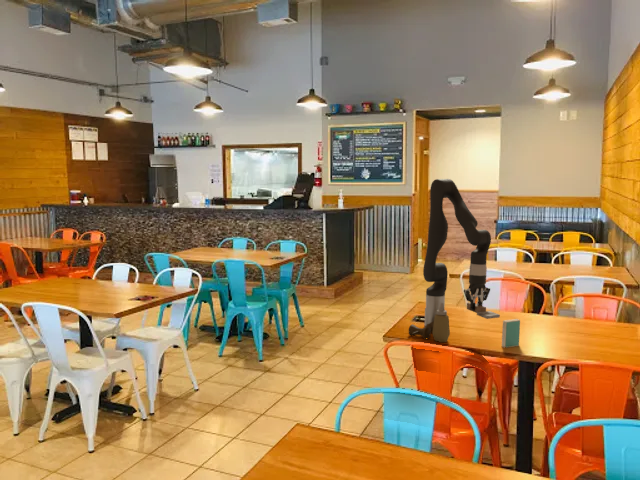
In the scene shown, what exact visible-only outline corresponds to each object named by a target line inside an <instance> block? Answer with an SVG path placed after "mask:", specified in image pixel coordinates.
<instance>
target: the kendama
mask: <svg viewBox="0 0 640 480" xmlns="http://www.w3.org/2000/svg"><path fill="white" fill-rule="evenodd" d="M433 324H434V322H430V324H426V326H425V325H424V327H422V328H421V327H418V326H417V325H415V324H411V325H409V327H408V335H409V336H410V335H414V336H421V337H422V338H423V339H425V340H427V339H426V338H428V339H430V337H431V333H432V332H433Z"/></svg>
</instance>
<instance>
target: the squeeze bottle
mask: <svg viewBox="0 0 640 480" xmlns="http://www.w3.org/2000/svg"><path fill="white" fill-rule="evenodd" d="M447 311H448V310H446V309H445V307H444V304H443V303H441V304H440V308H439V310H437V314H436V315H435V317H434V324H433V332H431V333H432V336H433V340H434V341H435V342H437V341H439V342H438V343H447V342H448V340H449V337H450V335H451V332H450V331H451V330H450V317H449V315H448V312H447Z"/></svg>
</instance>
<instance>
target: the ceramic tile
mask: <svg viewBox="0 0 640 480" xmlns="http://www.w3.org/2000/svg"><path fill="white" fill-rule="evenodd" d="M520 327H521V320H520V319H519V318H514V319H505V320H502V332H501V333H502V335H501V347H502V348H505V347H506V348H512V347H519V346H520V329H521V328H520Z"/></svg>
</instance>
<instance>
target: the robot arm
mask: <svg viewBox="0 0 640 480" xmlns="http://www.w3.org/2000/svg"><path fill="white" fill-rule="evenodd" d="M429 195H430V197H429V198H430V200H429V202H430V203H429V204H430V206H429V209H430V211H429V222H428V233H427V245H426V253H425V258H424V264H423V272H422V273H423V279H424V280H425V281H426V282H427V283H432V282H433V284H432V285H430V286H429V287H427V288H426V289H425V290H426V291H425V292H426V294H425V308H424V327H425V326H426V324H430V322H434V317H435V315H436V314H437V310H439V308H440V304H441V303H443V304H444V308H445V307H446V306H445V304H446V303H445V302H446V291H447V287H448V286H447V285H448V274H449V273H448V267H447V265H446V264H445V263H443V262H437V258H438V255H439V253H440V251H441V250H442V248H443V247H444V245H445V243H446V241H447V238H448V230H449V224H448V220H447V217H446V215H445V212H444V209H443V205H444V204H443V202H444V199H448V201H450V202H451V203H452V205H453V208H454V209H453V210H454V215H455V218H456V220H457V222H458V223H459V225H460V226H461V227H462V229H463V231H464V233H465V237H466V240H467V242H468V243H469V244H470V245H472V246H474V247H475V246H476V248H475V249H474V250H472V251H471V253H470V259H469V260H470V261H469V262H470V264H469V270H468V271H469V272H468V273H469V274H468V275H469V276H468V284H469V285H468V288H467V289H465V288H464V289H463V293H464V297H465V300H466V301H467V302H469V303H470V309H471V310H473V311H475V303H476V299H477V303H476V304H478V305H481V306H483V302H484V301H487V299H488V297H489V294H490V292H491V288H490V287H486V286H487V285H486V284H487V271H488V269H487V259H488V258H487V255H488V252H489V250H490V245H491V242H492V236H491V233H490V232H489V231H488V230H487V229H477V227H478V223H479V222H478V221H477V219H476V217H475V216H474V215H473V213H472V212H471V210H470V209H469V207H468V206H467V205H466V202H465V201H464V198H463V196H462V195H461V192H460V190H459V189H458V186H457V185H456V183H455V182H454V181H453V180H452V179H451V178H450V179H449V178H436V179H434V180H433V181H432V182H431V185H430V193H429ZM473 311H472V312H473Z"/></svg>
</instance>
